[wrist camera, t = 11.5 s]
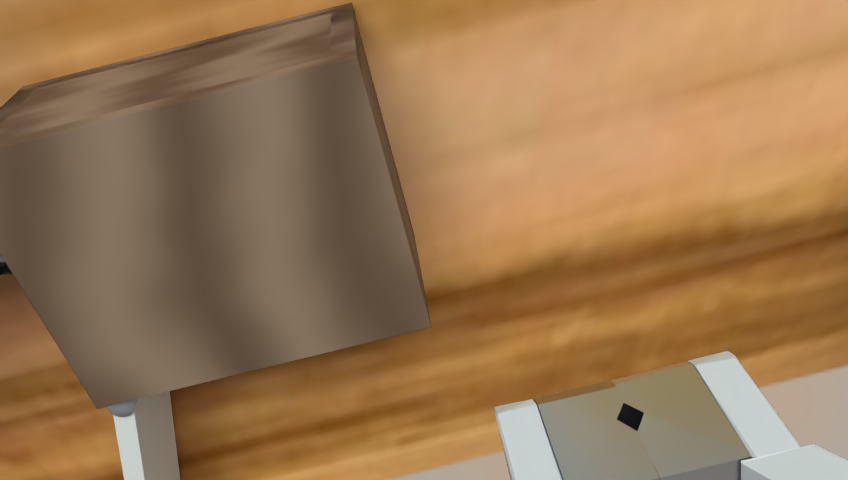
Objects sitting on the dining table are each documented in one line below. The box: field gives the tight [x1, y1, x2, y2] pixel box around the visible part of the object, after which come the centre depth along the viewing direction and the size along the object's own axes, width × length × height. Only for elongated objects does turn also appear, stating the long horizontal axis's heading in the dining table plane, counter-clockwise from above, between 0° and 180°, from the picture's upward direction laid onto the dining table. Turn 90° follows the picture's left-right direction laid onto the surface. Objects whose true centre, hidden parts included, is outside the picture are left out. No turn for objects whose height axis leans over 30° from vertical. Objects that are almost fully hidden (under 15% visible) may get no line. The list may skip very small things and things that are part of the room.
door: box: [108, 391, 180, 480], centre depth 43 cm, size 15×2×7 cm, turn 175°
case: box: [0, 3, 431, 409], centre depth 35 cm, size 16×13×8 cm
